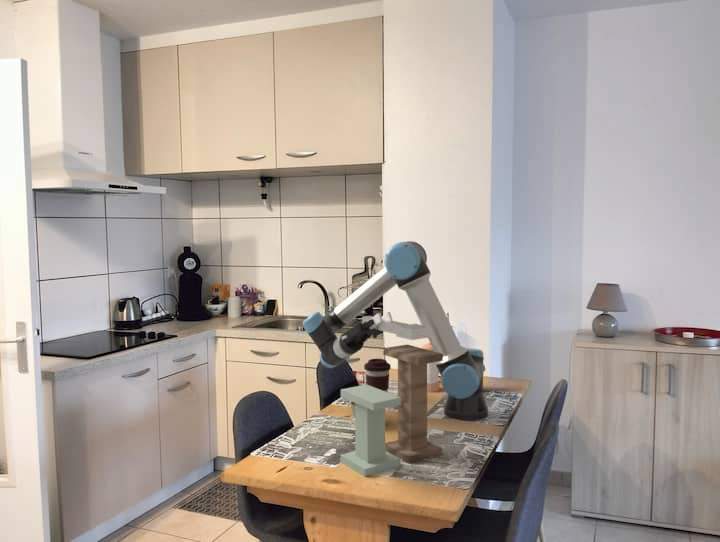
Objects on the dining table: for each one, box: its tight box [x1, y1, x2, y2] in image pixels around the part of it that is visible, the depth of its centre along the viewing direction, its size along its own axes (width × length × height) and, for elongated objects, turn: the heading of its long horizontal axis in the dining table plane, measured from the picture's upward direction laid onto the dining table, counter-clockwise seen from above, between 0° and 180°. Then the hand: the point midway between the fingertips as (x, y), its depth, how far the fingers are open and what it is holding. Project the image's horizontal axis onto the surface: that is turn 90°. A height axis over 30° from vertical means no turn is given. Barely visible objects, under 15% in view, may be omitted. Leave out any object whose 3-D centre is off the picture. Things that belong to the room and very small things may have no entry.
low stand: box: [340, 384, 402, 477], centre depth 168 cm, size 16×12×20 cm
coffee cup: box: [363, 358, 391, 393], centre depth 229 cm, size 10×10×15 cm
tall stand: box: [382, 344, 443, 465], centre depth 176 cm, size 16×12×30 cm
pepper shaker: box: [421, 341, 440, 393], centre depth 242 cm, size 7×7×19 cm
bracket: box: [361, 315, 431, 341], centre depth 182 cm, size 27×7×3 cm, turn 34°
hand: (385, 316), depth 184 cm, fingers closed on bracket, 3 cm apart
